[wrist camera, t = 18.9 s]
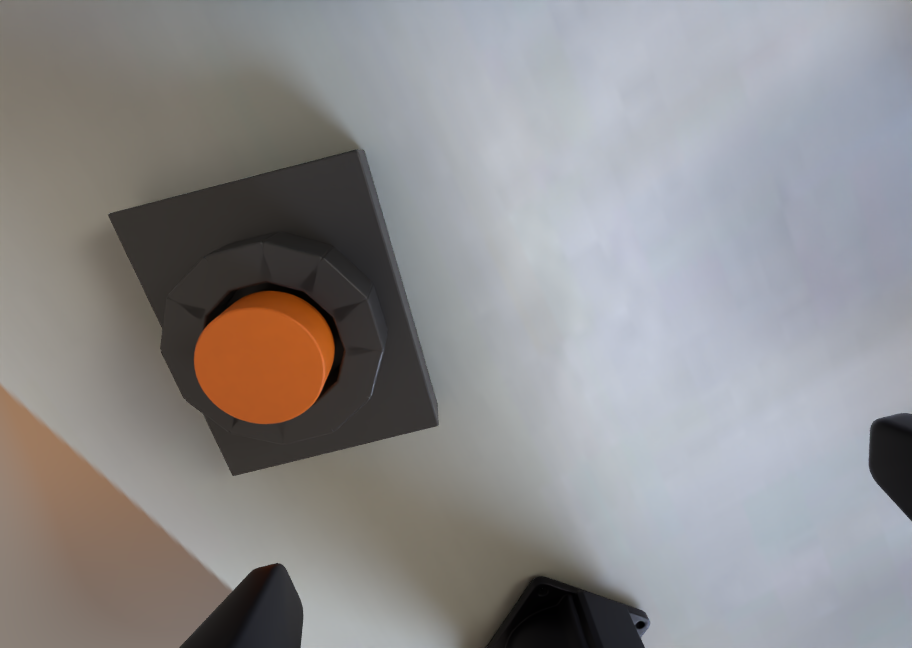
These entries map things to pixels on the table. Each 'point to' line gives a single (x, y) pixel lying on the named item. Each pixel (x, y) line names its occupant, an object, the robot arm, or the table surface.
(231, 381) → the button
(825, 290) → the table surface
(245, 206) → the button block
